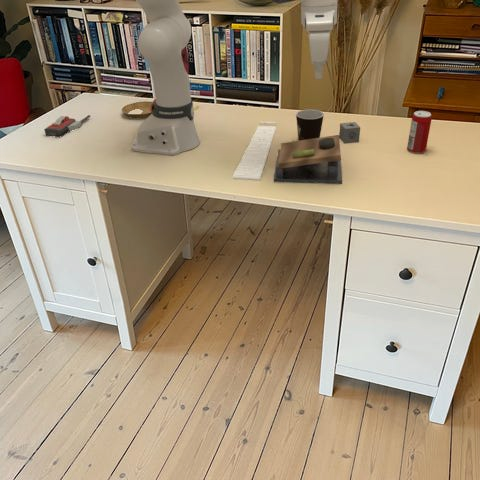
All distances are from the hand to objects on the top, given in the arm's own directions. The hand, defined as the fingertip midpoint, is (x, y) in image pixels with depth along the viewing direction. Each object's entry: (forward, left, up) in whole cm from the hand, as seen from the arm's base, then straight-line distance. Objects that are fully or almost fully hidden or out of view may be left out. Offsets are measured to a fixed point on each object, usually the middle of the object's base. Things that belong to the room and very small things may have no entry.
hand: (318, 72), depth 131 cm
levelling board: (-1, -3, -22) cm, 22 cm away
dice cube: (+11, +21, -28) cm, 36 cm away
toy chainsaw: (-89, +28, -28) cm, 97 cm away
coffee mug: (-2, +18, -28) cm, 33 cm away
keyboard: (-18, +13, -28) cm, 36 cm away
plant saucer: (-66, +43, -28) cm, 83 cm away
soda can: (+31, +13, -28) cm, 44 cm away
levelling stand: (-2, -3, -27) cm, 27 cm away
